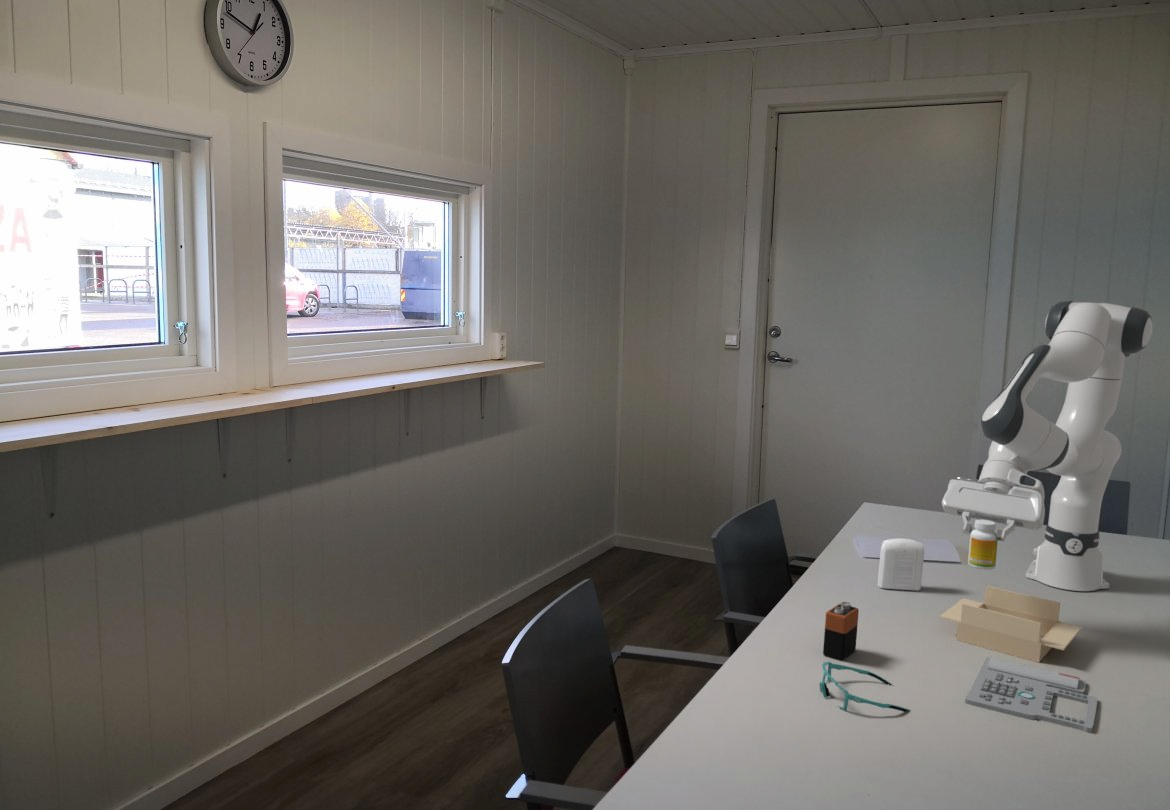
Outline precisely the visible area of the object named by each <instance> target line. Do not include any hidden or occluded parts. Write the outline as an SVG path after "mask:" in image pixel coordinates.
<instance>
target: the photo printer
mask: <svg viewBox="0 0 1170 810" xmlns="http://www.w3.org/2000/svg"><path fill="white" fill-rule="evenodd" d="M880 547H881V548H880V553H879V555H880V556H879V565H878V576H877V587H879V589H888V590H901V591H905V590H906V591H917V592H918V591H921V586H922V578H923V577H922V576H923V569H924V556H925V546H924V544H923V543H921V542H919V541H918V540H913V539H911V538H910V539H909V538H900V537H899V538H890V539H885V540H883V541H882V542H881V546H880Z"/></svg>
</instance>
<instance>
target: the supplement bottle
mask: <svg viewBox="0 0 1170 810" xmlns="http://www.w3.org/2000/svg"><path fill="white" fill-rule="evenodd" d="M974 528H975V529H973V530H972V532H971V534H970V535H969V546H968V557H967V558H968V559H967V564H968V565H969V566H970V567H972V568H974V569H977V570H984V571H985V570H987V571H989V570H993V569H995V568H996V563H997V551H998V541H999V540H997V538H996V535H997V532H996V531H995V530H996V523H995V522H993V521H989V520H978V519H975V521H974Z"/></svg>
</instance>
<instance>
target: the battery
mask: <svg viewBox="0 0 1170 810" xmlns="http://www.w3.org/2000/svg"><path fill="white" fill-rule="evenodd" d="M859 611H860V610H859V608H858V607H855V606H852V604H851V602H849V601H841V602H840V603H838V604H836V605H835V606H833V607H831V609H829V610H827V611H826V613H825V622H824V636H823V650H822V654H823V655H824V656H825V655H826V656H825V657H828V656H829V657H828V658H831V659H835V660H838V659H839V661H844V660H845V659H847V657H849V656H850V655H852V654H853V653H854V652H855V651H856V648H857V638H858V637H857V636H858V623H859Z"/></svg>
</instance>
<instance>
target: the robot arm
mask: <svg viewBox="0 0 1170 810" xmlns="http://www.w3.org/2000/svg"><path fill="white" fill-rule="evenodd" d="M1044 327H1045V335H1046V338H1048V340H1049V341H1050V342H1049V343H1048V344H1040V345H1038V346H1036V347H1035V348H1033V349H1032V350H1031V351H1029V353H1028V354H1027V355H1026V356H1025V357H1024V359H1023V360H1022V361H1021V363H1019V365H1018V367H1017V368H1016V369H1015V371H1014V372H1013V373H1012V375H1011V376H1010V378H1009V380H1008V381H1007V382H1006V384H1004V386H1003V388H1002V390H1001V391H1000V392H999V393H998V395H996V397H995V398H994V399H993V401H991V403H990V404H989V405H988V406H987V407H986V409H985V410H984V411H983V413H982V415H981V417H980V424H981V428H982V432H983V435H984V437H986V438H987V439H989V440H991V443H990V446H989V448H988V456H987V460H986V461H985V462H984V464H983V465H982V470H981V473H980V475H979V479H978V478H972V477H971V478H968V477H965V476H957V477H954V478H951V479H950V480H949V482H948V485H947V490H946V491H945V493H944V496H943V498H942V500H941V505H942V506H941V507H942V510H943V511H944V512H945V514H947V515H952V516H957V517H961V518H962V521H963V528H962V532H963V534H964V535H969V536H970V534H971V532H972V531H973V530H974V529H973V528H974V526H973V524H971V523H969V522H970V521H971V519H974V520H989V521H993V522H995V524H1001V525H1005V527H1004V528H1003V529H997V532H996V534H997V535H996V538H997V540H998V541H1001V542H1006V538H1007V536H1008V535H1009V534H1011V533H1012V532H1013V531H1015V529H1016V527H1017V528H1022V529H1028V530H1032V531H1038V530H1040V529H1041V528H1042V527H1043V526H1044V522H1045V515H1046V509H1045V498H1046V497H1045V489H1044V485H1043V483H1042V481H1041V480H1039V479H1037V478H1035V477H1033V476H1030V475H1028V472H1030V471H1031V472H1039V471H1043V470H1046V471H1048V472H1049V473H1051V474H1053V475H1055V476H1060V480H1059V482H1057V483H1058V484H1057V486H1056V487H1055V488H1054V489H1053V491H1052V494H1051V496H1050V504H1049V505H1050V506H1049V514H1048V522H1047V524H1046V526H1045V528H1044V540H1043V541H1042V543H1041V544H1040V545H1039V546H1037V547H1033V550H1032V557H1034V558H1036V559H1034V560H1032V562H1031V563H1030V565H1029V567H1028V568H1027V570H1026V572H1025V577H1026V578H1027V579H1031V580H1035V581H1037V582H1039V583H1042V584H1044V585H1047V586H1050V587H1054V588H1057V589H1061V590H1067V591H1074V592H1075V591H1076V592H1093V591H1097V590H1102V589H1103V590H1105V589H1110V583H1109V582H1107V581H1106V580H1105V579H1104V577H1103V576H1104V575H1103V573H1104V564H1105V563H1104V561H1105V560H1104V559H1105V555H1104V553H1102V552H1101V551H1100V550H1099V548H1098V546H1099V544H1100V531H1099V523H1100V515H1101V508H1102V502H1103V497H1104V494H1105V491H1106V489H1107V486H1108V483H1109V480H1110V477H1111V475H1112V473H1113V469H1114V467H1115V465H1116V464H1117V462H1118V461H1119V459H1120V458H1121V455H1122V445H1121V442H1120V439H1119V438H1118V437H1117V436H1116V435H1115V434H1113V433H1112V432H1110V431H1107V430H1105V428H1106V426H1107V423H1108V422H1109V420H1110V419H1111V417H1112V416H1113V415H1114V414H1115V412H1116V410H1117V407H1118V400H1119V395H1120V390H1121V386H1122V379H1123V375H1124V369H1125V367H1124V366H1125V358H1126V357H1127V358H1128V357H1130V355H1132V354H1136V353H1138V352H1140V351H1142V350H1143V349H1145V348H1146V346H1147V344H1148V343H1149V341H1150V339H1151V337H1152V334H1153V330H1154V329H1153V327H1154V326H1153V322H1152V316H1151V315H1150V313H1149V311H1147V310H1144V309H1142V308H1138V307H1135V306H1132V307H1130V306H1129V307H1128V306H1124V305H1119V304H1115V303H1107V302H1089V301H1088V302H1087V301H1086V302H1083V301H1082V302H1077V301H1076V302H1075V301H1073V300H1066V301H1065V300H1063V301H1059V302H1057V303H1055V304H1054V305H1052V306H1051V308H1050V309H1049V311H1048V313H1047V315H1046V318H1045V322H1044ZM1042 378H1043V379H1048V380H1051V381H1056V382H1059V383H1067V384H1068V385H1067V389H1066V394H1065V398H1064V399H1065V400H1064V403H1063V406H1062V408H1061V411H1060V413H1059V416H1058V418H1057V420H1056V422H1055V423H1053V422H1052V421H1050V420H1049V419H1047V418H1045V417H1044V416H1042V415H1041V414H1040V413H1038V412H1037V411H1035V410H1034V409H1032V408H1031V407H1030V406H1029V405H1028V403H1027V401H1026V398H1027V396H1028V395H1029V394H1030V392H1031V391H1032V389H1033V387H1034V386H1035V385H1036V383H1037V382H1038V380H1039V379H1042Z"/></svg>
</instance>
